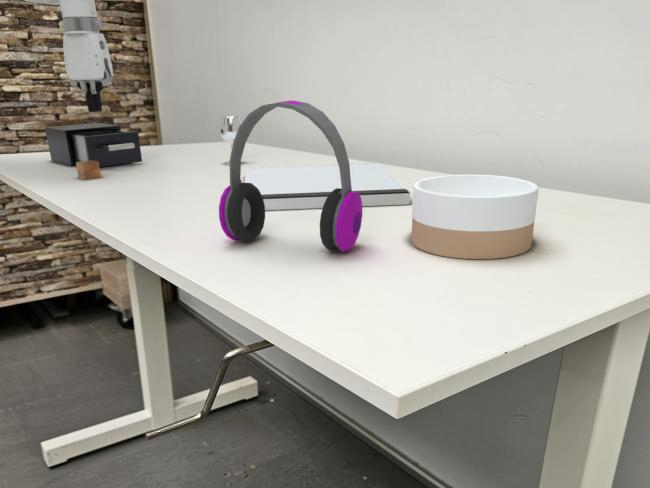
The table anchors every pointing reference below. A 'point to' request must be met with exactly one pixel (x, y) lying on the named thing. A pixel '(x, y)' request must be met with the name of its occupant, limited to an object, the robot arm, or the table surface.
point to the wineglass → (229, 128)
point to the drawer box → (61, 141)
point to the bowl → (473, 216)
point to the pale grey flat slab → (324, 185)
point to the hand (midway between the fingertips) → (95, 111)
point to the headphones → (247, 202)
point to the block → (88, 170)
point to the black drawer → (106, 147)
